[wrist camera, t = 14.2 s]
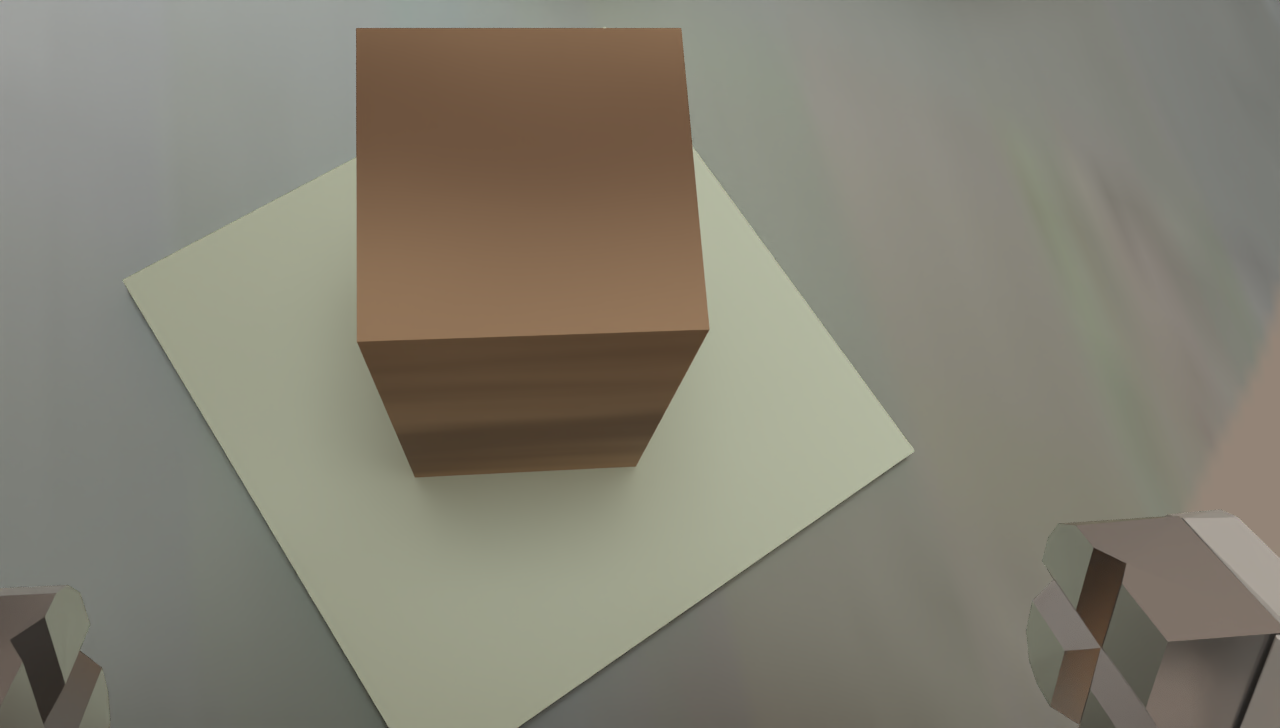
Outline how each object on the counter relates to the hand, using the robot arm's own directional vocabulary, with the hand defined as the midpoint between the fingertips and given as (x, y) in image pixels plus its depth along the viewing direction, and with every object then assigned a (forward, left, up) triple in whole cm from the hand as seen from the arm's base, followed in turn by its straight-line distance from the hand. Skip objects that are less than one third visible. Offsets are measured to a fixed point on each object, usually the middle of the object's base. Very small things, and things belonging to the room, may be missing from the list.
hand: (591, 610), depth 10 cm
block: (-5, +3, -13) cm, 14 cm away
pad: (-5, +3, -13) cm, 15 cm away
